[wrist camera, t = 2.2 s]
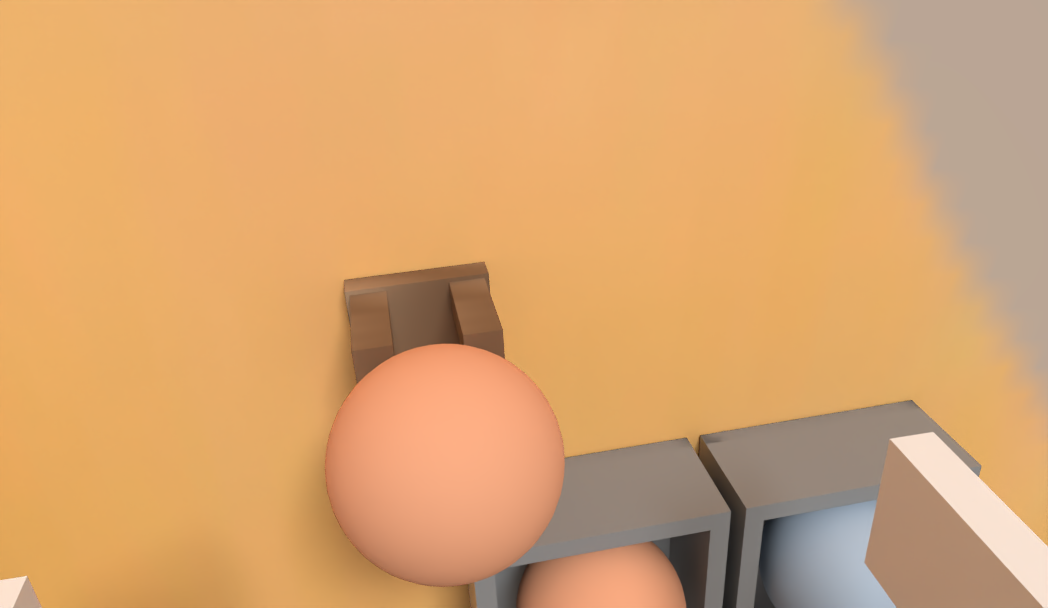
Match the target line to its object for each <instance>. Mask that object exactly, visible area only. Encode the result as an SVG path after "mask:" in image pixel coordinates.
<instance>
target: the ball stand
mask: <svg viewBox="0 0 1048 608" xmlns="http://www.w3.org/2000/svg"><path fill="white" fill-rule="evenodd" d="M344 291H345V298H346V304H347V309H348V315H349V321H350V327H351V350H352V357H353V362H354V368H355V374H356V380H357V384H358V383H359V382H360V381H361V380H362V379H363V378H364V377H365V376H366V375H367V374H368V373H369V372H371V371H372V370H373V369H375V368H376V367H377V366H378V365H380V364H381V363H383V362H384V361H386V360H388V359H390V358H391V357H393V356H395V355H398V354H400V353H402V352H404V351H407V350H411V349H414V348H417V347H422V346H427V345H433V344H460V345H467V346H472V347H476V348H479V349H483V350H486V351H489V352H491V353H494V354H496V355H498V356H500V357H502V358H504V359H505V355H504V341H503V329H502V326H501V323H500V321H499V318H498V315H497V312H496V309H495V306H494V304H493V301H492V298H491V295H490V287H489V274H488V271H487V268H486V265H485V262H480V263H473V264H465V265H457V266H449V267H442V268H434V269H426V270H418V271H410V272H403V273H395V274H387V275H379V276H372V277H364V278H356V279H348V280H344Z"/></svg>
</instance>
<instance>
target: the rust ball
mask: <svg viewBox="0 0 1048 608" xmlns="http://www.w3.org/2000/svg"><path fill="white" fill-rule="evenodd" d="M516 608H686V601H685V596H684V592H683V587H682V585H681V582H680V579H679V577H678V575H677V572H676V570H675V569H674V567H673V565H672V564H671V562H670V561H669V559H668V558H667V557H666V555H665V554H664V553H663V552H662V551H661V550H660V549H659V548H658V547H657V546H656V545H655V544H654V543H653V542H652V541H650V542H644V543H639V544H633V545H628V546H623V547H617V548H612V549H606V550H601V551H595V552H590V553H585V554H579V555H574V556H568V557H563V558H557V559H552V560H547V561H541V562H536V563H530V564H528V565H527V567H526V569H525V570H524V573H523V576H522V578H521V581H520V584H519V588H518V594H517V599H516Z"/></svg>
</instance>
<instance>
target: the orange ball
mask: <svg viewBox="0 0 1048 608" xmlns="http://www.w3.org/2000/svg"><path fill="white" fill-rule="evenodd" d="M564 468H565V458H564V447H563V440H562V436H561V432H560V429H559V425H558V422H557V419H556V417H555V415H554V412H553V410H552V408H551V406H550V404H549V403H548V401H547V399H546V398H545V396H544V395H543V393H542V392H541V390H540V389H539V388H538V387H537V385H536V384H535V383H534V382H533V381H532V380H531V379H530V378H529V377H528V376H527V375H526V374H525V373H524V372H523V371H521V370H520V369H519V368H517V367H516V366H515V365H513V364H512V363H511V362H509V361H507V360H506V359H504V358H502V357H500V356H498V355H496V354H494V353H491V352H489V351H486V350H483V349H479V348H476V347H472V346H467V345H460V344H433V345H427V346H422V347H417V348H414V349H411V350H407V351H404V352H402V353H400V354H398V355H395V356H393V357H391V358H390V359H388V360H386V361H384V362H383V363H381V364H380V365H378V366H377V367H376V368H375V369H373V370H372V371H371V372H369V373H368V374H367V375H366V376H365V377H364V378H363V379H362V380H361V381H360V382H359V383H358V384H357V385H356V386H355V387H354V388H353V390H352V391H351V392H350V394H349V395H348V396H347V398H346V399H345V401H344V402H343V404H342V406H341V408H340V409H339V411H338V413H337V415H336V418H335V421H334V423H333V426H332V429H331V431H330V434H329V439H328V444H327V449H326V459H325V475H326V484H327V492H328V495H329V499H330V502H331V505H332V509H333V512H334V514H335V516H336V518H337V520H338V522H339V524H340V526H341V528H342V530H343V532H344V533H345V535H346V536H347V537H348V539H349V540H350V542H351V543H352V544H353V545H354V546H355V547H356V548H357V549H358V551H359V552H360V553H361V554H362V555H363V556H364V557H365V558H367V559H368V560H369V561H371V562H372V563H373V564H374V565H376V566H377V567H379V568H380V569H382V570H384V571H385V572H387V573H389V574H391V575H393V576H395V577H398V578H400V579H403V580H406V581H409V582H413V583H417V584H421V585H427V586H438V587H447V586H458V585H465V584H469V583H474V582H477V581H480V580H483V579H486V578H489V577H491V576H493V575H495V574H497V573H499V572H501V571H503V570H504V569H506V568H508V567H509V566H511V565H512V564H513V563H515V562H516V561H517V560H518V559H520V558H521V557H522V556H523V555H524V554H525V553H526V552H528V551H529V550H530V549H531V547H532V546H533V545H534V544H535V543H536V542H537V541H538V539H539V538H540V536H541V535H542V534H543V532H544V531H545V529H546V528H547V526H548V524H549V522H550V520H551V519H552V517H553V515H554V512H555V509H556V506H557V504H558V501H559V498H560V495H561V491H562V486H563V479H564Z"/></svg>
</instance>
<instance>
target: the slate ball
mask: <svg viewBox="0 0 1048 608" xmlns="http://www.w3.org/2000/svg"><path fill="white" fill-rule="evenodd" d="M876 503H877V500H872V501H867V502H861V503H856V504H850V505H845V506H840V507H834V508H829V509H823V510H818V511H812V512H807V513H802V514H796V515H791V516H785V517H780V518H774V519H769V520H767V521H766V523H765V525H764V528H763V532H762V541H761V549H760V557H759V568H760V575H761V578H762V582H763V585H764V588H765V590H766V592H767V594H768V596H769V598H770V600H771V602H772V603H773V605H774V606H775V608H896V606H895V605H894V603H893V602H892V601H891V599H890V598H889V596H888V595H887V594H886V592H885V591H884V589H883V588H882V587H881V585H880V584H879V582H878V581H877V580H876V578H875V577H874V575H873V574H872V573H871V571H870V570H869V568H868V567H867V566H866V564H865V563H864V561H865V557H866V552H867V547H868V542H869V537H870V532H871V527H872V522H873V518H874V513H875V508H876Z"/></svg>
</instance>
